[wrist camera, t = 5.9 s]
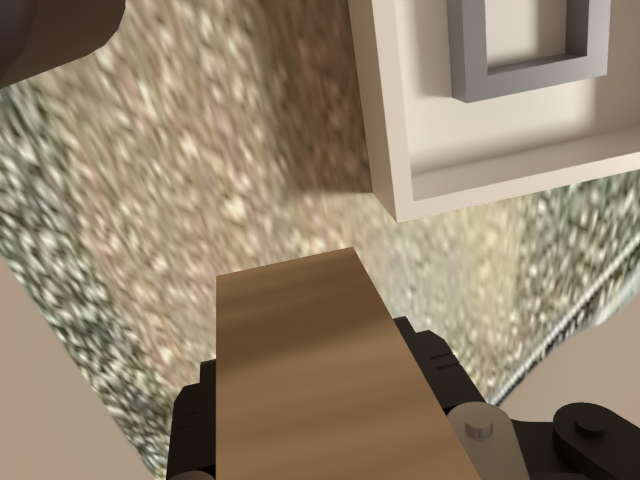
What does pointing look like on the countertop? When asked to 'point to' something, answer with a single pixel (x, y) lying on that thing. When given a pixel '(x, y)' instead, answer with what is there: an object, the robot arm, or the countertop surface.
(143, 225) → the countertop surface
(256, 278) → the plug
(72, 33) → the bottle
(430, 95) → the box
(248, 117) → the countertop surface
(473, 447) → the robot arm
